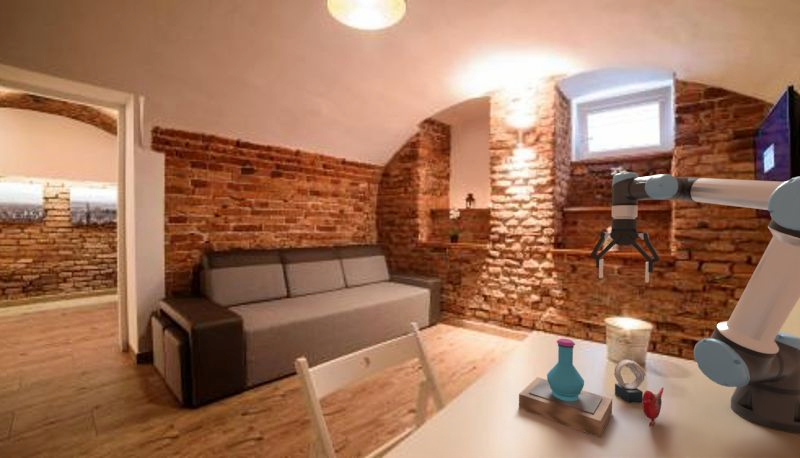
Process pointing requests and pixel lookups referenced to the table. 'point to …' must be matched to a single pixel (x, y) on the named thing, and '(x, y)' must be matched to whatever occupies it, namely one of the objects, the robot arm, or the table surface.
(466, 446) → the table surface
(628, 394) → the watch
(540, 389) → the walnut stand
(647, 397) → the decorative bird figurine
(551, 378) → the perfume bottle
